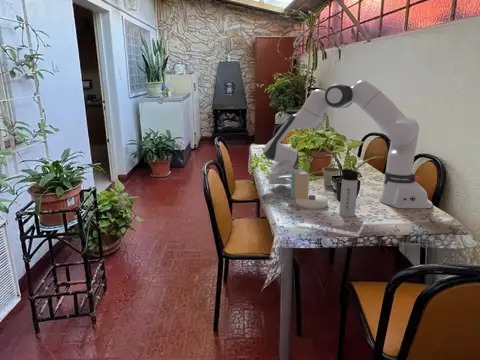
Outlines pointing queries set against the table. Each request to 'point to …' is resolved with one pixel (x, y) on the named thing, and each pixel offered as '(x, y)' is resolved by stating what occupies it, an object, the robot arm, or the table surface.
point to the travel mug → (348, 193)
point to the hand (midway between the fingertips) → (293, 182)
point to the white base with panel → (305, 193)
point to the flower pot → (329, 174)
